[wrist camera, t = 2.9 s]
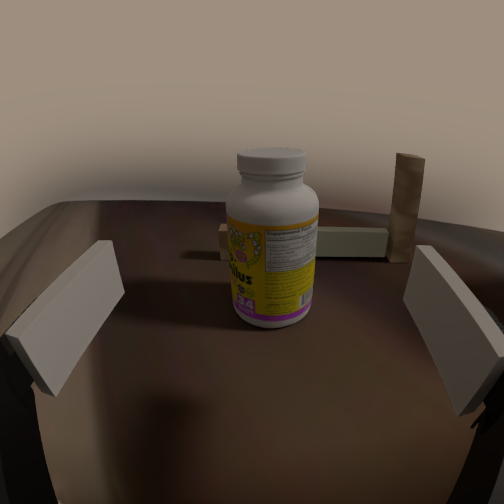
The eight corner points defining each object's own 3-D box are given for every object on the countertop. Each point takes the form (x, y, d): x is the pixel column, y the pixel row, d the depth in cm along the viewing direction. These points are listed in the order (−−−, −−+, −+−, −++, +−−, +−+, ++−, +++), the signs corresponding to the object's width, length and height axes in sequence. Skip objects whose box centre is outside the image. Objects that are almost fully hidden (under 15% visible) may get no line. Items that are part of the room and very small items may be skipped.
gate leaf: (379, 248, 33) (382, 225, 32) (384, 257, 31) (388, 232, 30) (243, 246, 35) (242, 222, 33) (241, 255, 33) (240, 230, 31)
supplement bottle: (227, 290, 27) (217, 148, 22) (295, 280, 29) (299, 144, 23) (241, 339, 22) (230, 161, 16) (323, 323, 23) (338, 157, 17)
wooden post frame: (401, 253, 33) (415, 155, 27) (408, 262, 31) (424, 159, 25) (223, 251, 35) (216, 147, 29) (220, 261, 33) (212, 150, 27)
